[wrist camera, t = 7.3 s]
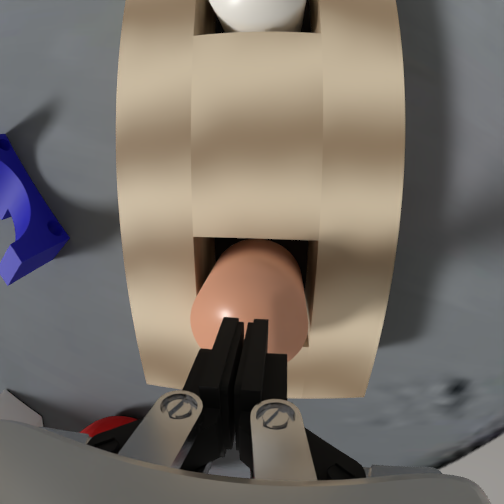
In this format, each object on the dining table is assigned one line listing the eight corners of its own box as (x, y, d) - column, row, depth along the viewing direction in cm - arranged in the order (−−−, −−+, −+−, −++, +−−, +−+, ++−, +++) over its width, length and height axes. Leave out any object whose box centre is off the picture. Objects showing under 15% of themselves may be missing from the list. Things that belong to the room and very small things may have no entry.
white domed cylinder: (223, -9, 15) (208, -47, 10) (301, -11, 14) (305, -49, 10) (221, 53, 16) (203, 25, 12) (303, 52, 16) (310, 23, 11)
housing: (166, -42, 14) (142, -75, 9) (360, -45, 13) (376, -82, 8) (169, 343, 23) (146, 383, 18) (351, 352, 22) (364, 397, 17)
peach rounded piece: (211, 237, 17) (186, 268, 12) (304, 240, 16) (313, 273, 12) (214, 318, 18) (195, 367, 14) (299, 322, 18) (302, 374, 13)
